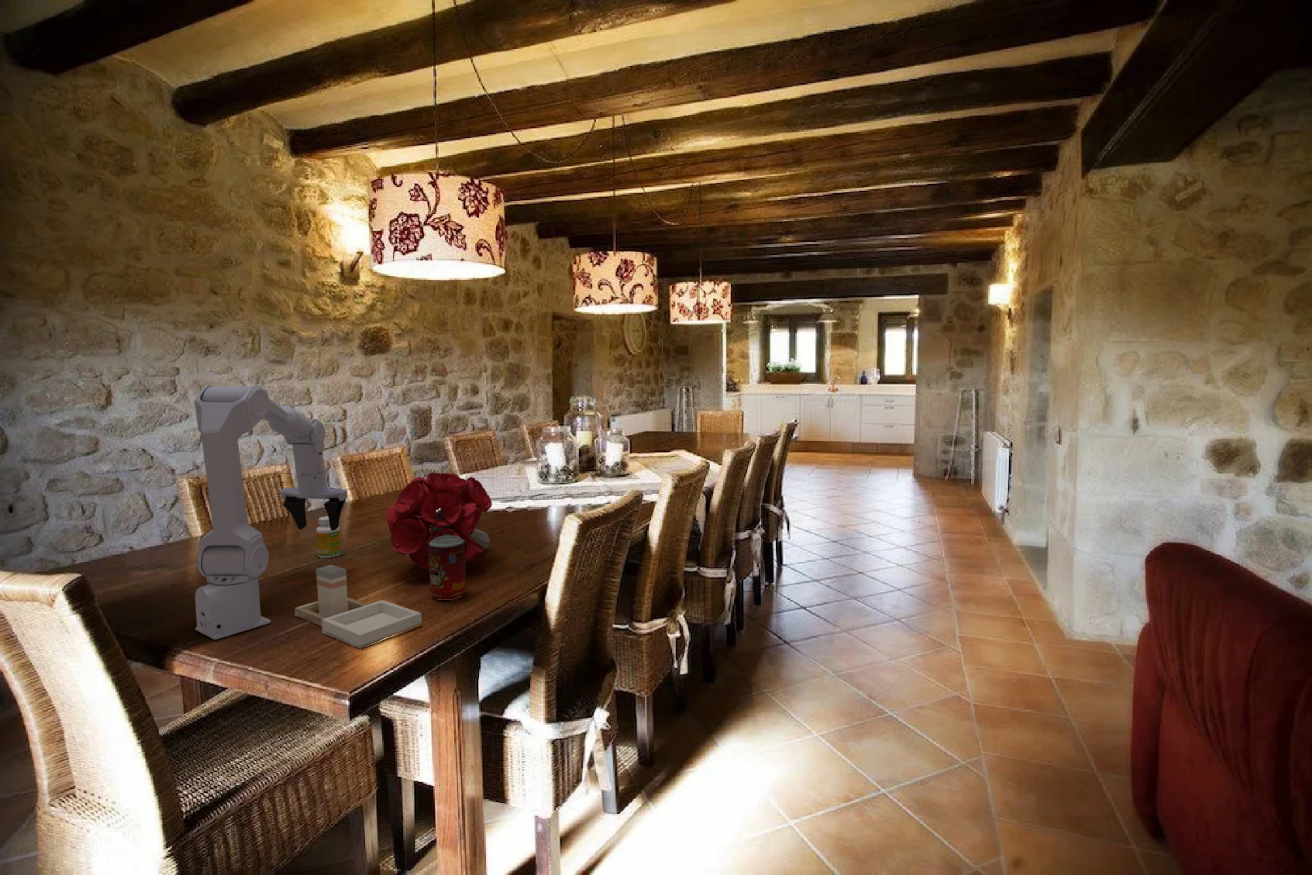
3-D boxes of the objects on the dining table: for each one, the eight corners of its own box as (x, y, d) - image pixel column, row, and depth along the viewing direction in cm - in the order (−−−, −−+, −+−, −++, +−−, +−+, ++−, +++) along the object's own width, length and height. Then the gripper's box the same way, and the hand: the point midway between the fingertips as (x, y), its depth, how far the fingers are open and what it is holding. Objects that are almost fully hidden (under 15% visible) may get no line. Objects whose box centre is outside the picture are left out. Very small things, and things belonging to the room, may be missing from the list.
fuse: (333, 619, 124) (330, 573, 123) (318, 614, 127) (315, 568, 126) (348, 614, 126) (346, 569, 125) (334, 609, 129) (331, 564, 128)
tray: (360, 649, 111) (360, 635, 111) (322, 632, 118) (321, 619, 117) (421, 626, 121) (421, 613, 121) (383, 612, 128) (382, 599, 127)
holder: (326, 628, 120) (325, 620, 120) (295, 615, 126) (294, 607, 126) (371, 613, 127) (371, 605, 127) (340, 601, 133) (339, 594, 133)
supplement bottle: (331, 559, 163) (329, 520, 162) (312, 558, 164) (310, 519, 163) (346, 553, 168) (344, 515, 167) (327, 552, 169) (325, 514, 168)
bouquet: (429, 577, 170) (354, 547, 143) (459, 491, 178) (393, 448, 152) (502, 591, 163) (437, 563, 137) (529, 502, 172) (473, 459, 145)
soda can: (422, 599, 135) (420, 540, 133) (446, 588, 141) (445, 532, 140) (450, 604, 132) (448, 544, 131) (473, 593, 138) (471, 536, 137)
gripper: (351, 466, 150) (358, 522, 154) (290, 465, 151) (298, 520, 155) (334, 476, 143) (342, 534, 147) (270, 475, 144) (279, 532, 148)
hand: (318, 528), depth 150 cm, fingers open, 7 cm apart
